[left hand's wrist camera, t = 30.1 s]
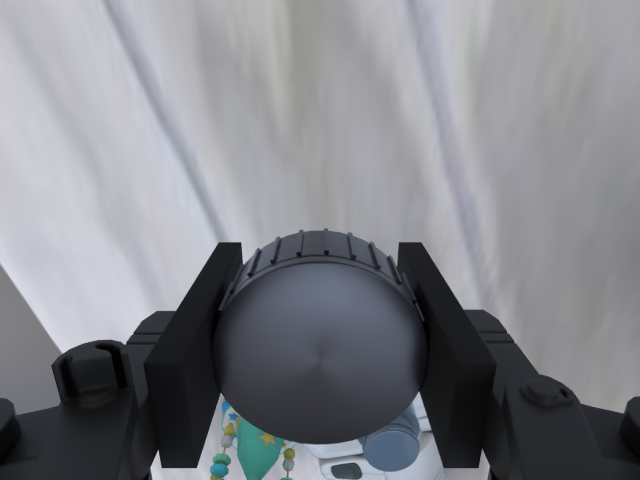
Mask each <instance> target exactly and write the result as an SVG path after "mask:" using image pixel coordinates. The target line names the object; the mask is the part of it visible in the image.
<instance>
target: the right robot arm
mask: <svg viewBox="0 0 640 480" xmlns="http://www.w3.org/2000/svg"><path fill="white" fill-rule="evenodd" d="M413 404H414V407H415V411H416V414H417V418H418V421H419V425H420V431H419V435H418V440H419V444H420V451H419V454H418V457H417V459H416V460H415V462H414V463H413V464H412V465H410V466H409V467H407V468H405V469H403V470H400V471H395V472H385V471H381V470H378V469H376V468H374V467H372V466H371V465H370V464H369V463H368V462H367V460H366V458H365V455H364V453H363V450H362V445H361V444H360V443H359V441H358V439H356V440H353V441H348V442H343V443H337V444H328V445H313V444H303V445H304V447H305V448H306V449H307V450H308V452H310V453H311V454H312V455H314V456H316V457H318V458H319V465H320V470H321V473H322V475H323V477H325V478H327V479H333V480H449V479H448V476H447V474H446V472H445V470H444V468H443V465H442V462H441V458H440V455H439V452H438V449H437V446H436V443H435V440H434V436H433V433H432V430H431V427H430V424H429V421H428V418H427V414H426V411H425V408H424V405H423V402H422V399H421V396H420V392H418V394H417V396H416V397H415V399H414V400H413Z"/></svg>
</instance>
